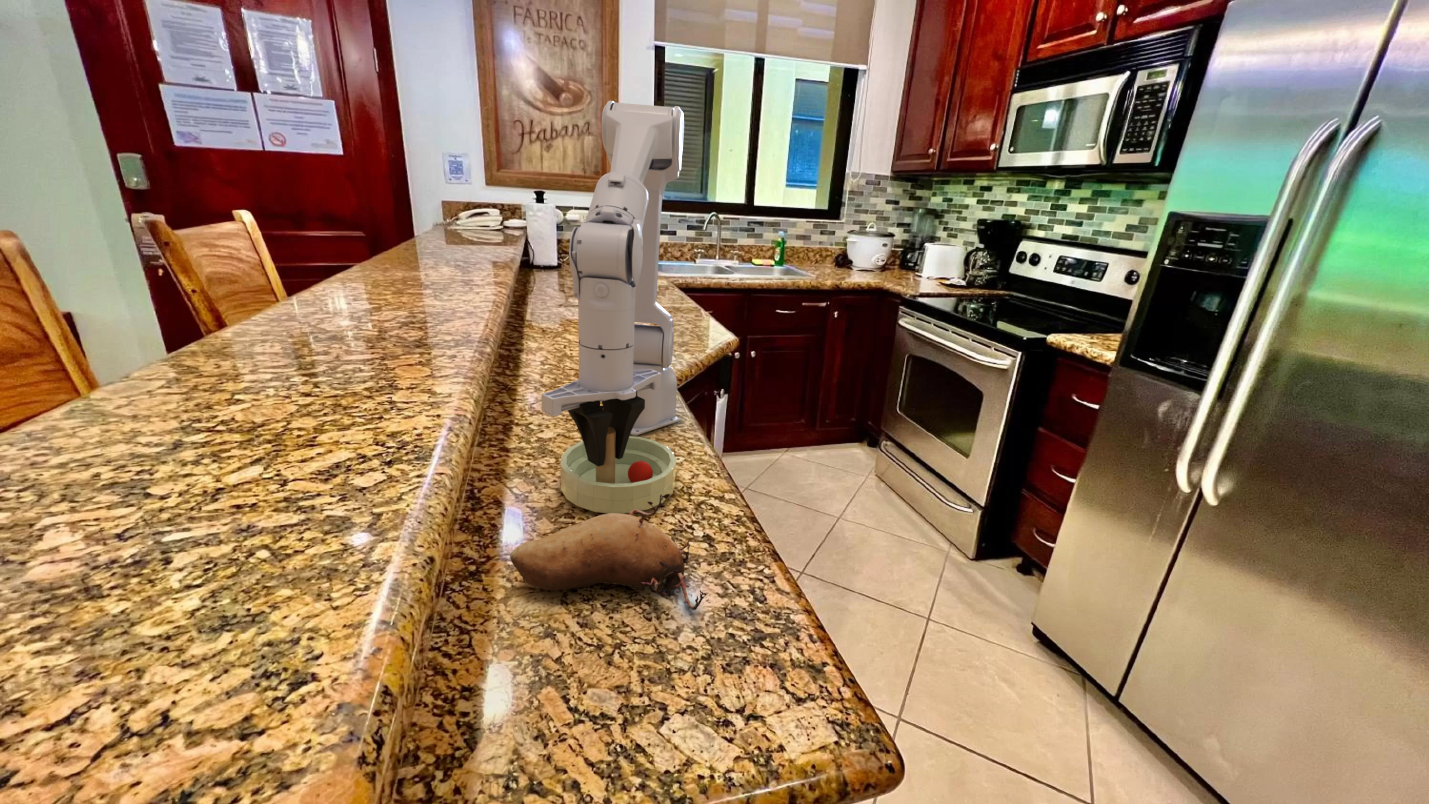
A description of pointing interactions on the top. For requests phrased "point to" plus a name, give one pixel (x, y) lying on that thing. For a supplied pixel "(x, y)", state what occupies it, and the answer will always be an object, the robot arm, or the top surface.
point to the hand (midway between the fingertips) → (605, 459)
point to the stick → (608, 460)
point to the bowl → (618, 478)
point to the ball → (639, 471)
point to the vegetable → (605, 555)
